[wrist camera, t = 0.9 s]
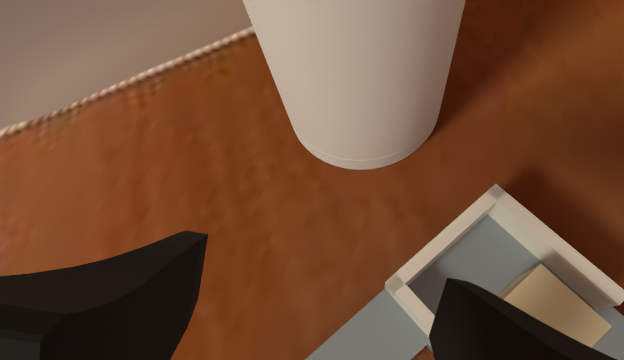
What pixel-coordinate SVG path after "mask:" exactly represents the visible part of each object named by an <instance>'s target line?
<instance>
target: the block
mask: <svg viewBox="0 0 624 360" xmlns="http://www.w3.org/2000/svg"><path fill="white" fill-rule="evenodd" d="M498 297H500V298H502V299H503V300H505V301H507V302H508V303H510V304H512V305H514V306H515V307H517V308H519V309H520V310H522V311H524V312H526V313H527V314H529V315H531V316H532V317H534V318H536V319H538V320H540V321H541V322H543V323H545V324H547V325H548V326H550V327H552V328H554V329H556V330H558V331H560V332H561V333H563V334H565V335H567V336H569V337H571V338H573V339H575V340H577V341H579V342H581V343H583V344H585V345H587V346H589V347H592V346H593V345H594V344H595V343H596V342H597V341H598V340H599V339H600V338H601V337H602V336H603V335H604V334H605V333H606V332H607V331H608V330H609V329H610V328H611V327H612V326H611V325H610V324H609V323H608V322H607V321H605V320H604V319H603V318H602V317H601V316H600V315H599V314H597V313H596V312H595V311H594V310H593V309H592V308H591V307H590V306H588V305H587V304H586V303H585V302H584V301H583V300H582V299H580V298H579V297H578V296H577V295H576V294H575V293H574V292H573V291H571V290H570V289H569V288H568V287H567V286H566V285H565V284H563V283H562V282H561V281H560V280H559V279H558V278H557V277H556V276H554V275H553V274H552V273H551V272H550V271H549V270H548V269H546V268H545V267H544V266H543V265H542V264H539V265H538V266H536V267H534V268H532V269H531V270H529V271H527V272H526V273H524V274H522V275H520V276H519V277H517V278H516V279H515V280H514V281H513V282H512V283H511V284H510V285H509V286H508V287H506V288H505V289H504V290H503V291H502V292H501V293H500V294H499V295H498Z"/></svg>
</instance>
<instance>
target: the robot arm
mask: <svg viewBox="0 0 624 360" xmlns="http://www.w3.org/2000/svg"><path fill="white" fill-rule="evenodd" d="M207 238H208V234H202V233H197V232H191V231H183V232H180V233H177V234H175V235H172V236H170V237H167V238H165V239H162V240H160V241H157V242H155V243H152V244H150V245H147V246H144V247H142V248H139V249H136V250H133V251H130V252H127V253H124V254H121V255H118V256H115V257H112V258H108V259H105V260H101V261H97V262H93V263H88V264H84V265H80V266H75V267H70V268H63V269H57V270H50V271H44V272H37V273H30V274H21V275H10V276H0V360H170V359H171V357H172V355H173V353H174V351H175V349H176V348H177V346H178V344H179V342H180V340H181V338H182V336H183V334H184V332H185V331H186V329H187V327H188V324H189V321H190V319H191V316H192V313H193V311H194V308H195V305H196V302H197V300H198V296H199V289H200V283H201V276H202V270H203V264H204V257H205V251H206V244H207ZM429 340H430V343H431V347H432V351H433V354H434V358H435V360H617V359H615V358H612V357H610V356H608V355H606V354H604V353H602V352H600V351H597V350H595V349H593V348H591V347H589V346H587V345H585V344H583V343H581V342H579V341H577V340H575V339H573V338H571V337H569V336H567V335H565V334H563V333H561V332H560V331H558V330H556V329H554V328H552V327H550V326H548V325H547V324H545V323H543V322H541V321H540V320H538V319H536V318H534V317H532V316H531V315H529V314H527V313H526V312H524V311H522V310H520V309H519V308H517V307H515V306H514V305H512V304H510V303H508V302H507V301H505V300H503V299H502V298H500V297H498V296H496V295H495V294H493V293H491V292H489V291H487V290H485V289H484V288H482V287H480V286H478V285H475V284H473V283H471V282H468V281H464V280H458V279H453V278H447V280H446V283H445V286H444V289H443V292H442V296H441V299H440V302H439V305H438V308H437V311H436V315H435V318H434V321H433V324H432V327H431V330H430V334H429Z"/></svg>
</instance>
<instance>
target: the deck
mask: <svg viewBox="0 0 624 360" xmlns="http://www.w3.org/2000/svg"><path fill="white" fill-rule="evenodd" d="M539 264H542V265H543V266H544V267H545V268H546V269H548V270H549V271H550V272H551V273H552V274H553V275H554V276H556V277H557V278H558V279H559V280H560V281H561V282H562V283H563V284H565V285H566V286H567V287H568V288H569V289H570V290H571V291H573V292H574V293H575V294H576V295H577V296H578V297H579V298H580V299H582V300H583V301H584V302H585V303H586V304H587V305H588V306H590V307H591V308H592V309H593V310H594V311H595V312H596V313H597V314H599V315H600V316H601V317H602V318H603V319H604V320H605V321H607V322H608V323H609V324H610V325H611V326H612V327H611V328H610V329H609V330H608V331H607V332H606V333H605V334H604V335H603V336H602V337H601V338H600V339H599V340H598V341H597V342H596V343H595V344H594V345H593V346H592V347H591V348H593V349H595V350H597V351H600V352H602V353H604V354H606V355H608V356H610V357H612V358H615V359H617V360H624V316H623V315H621V314H620V313H619V312H618V311H617V310H616V309H614V308H613V307H607V308H603V309H598V310H596V309H595V308H594V307H592V306H591V305H590V304H589V303H588V302H587V301H586V300H584V299H583V298H582V297H581V296H580V295H579V294H578V293H577V292H575V291H574V290H573V289H572V288H571V287H570V286H569V285H567V284H566V283H565V282H564V281H563V280H562V279H561V278H559V277H558V276H557V275H556V274H555V273H554V272H553V271H552V270H550V269H549V268H548V267H547V266H546V265H545V264H544V263H542V262H541V261H540V260H539V259H538V258H537V257H536V256H534V255H533V254H532V253H531V252H530V251H529V250H528V249H526V248H525V247H524V246H523V245H522V244H521V243H520V242H519V241H517V240H516V239H515V238H514V237H513V236H512V235H511V234H509V233H508V232H507V231H506V230H505V229H504V228H503V227H501V226H500V225H499V224H498V223H497V222H496V221H495V220H494V219H492V218H491V217H490V216H489V215H488V214H487V215H486V216H484V217H483V218H482V219H481V220H480V221H479V222H478V223H477V224H476V225H474V226H473V227H472V228H471V229H470V230H469V231H468V232H467V233H466V234H464V235H463V236H462V237H461V238H460V239H459V240H458V241H457V242H456V243H455V244H453V245H452V246H451V247H450V248H449V249H448V250H447V251H446V252H445V253H443V254H442V255H441V256H440V257H439V258H438V259H437V260H436V261H435V262H433V263H432V264H431V265H430V266H429V267H428V268H427V269H426V270H425V271H423V272H422V273H421V274H420V275H419V276H418V277H417V278H416V279H415V280H413V281H412V282H411V283H410V284H409V285H408V287H409V288H410V289H411V291H412V292H413V293H414V294H415V295H416V296H417V297H418V298H419V299H420V300H421V301H422V303H423V304H424V305H425V306H426V307H427V308H428V309H429V310H430V311H431V312H432V313H433V314H434V316H435V315H436V311H437V308H438V305H439V302H440V299H441V296H442V292H443V289H444V286H445V283H446V280H447V278H453V279H458V280H464V281H468V282H471V283H473V284H475V285H478V286H480V287H482V288H484V289H485V290H487V291H489V292H491V293H493V294H495V295H496V296H498V295H499V294H500V293H501V292H502V291H503V290H504V289H505V288H506V287H508V286H509V285H510V284H511V283H512V282H513V281H514V280H515V279H516V278H517V277H519V276H520V275H522V274H524V273H526V272H527V271H529V270H531V269H532V268H534V267H536V266H538V265H539ZM425 346H427V347H428V349H429V350H430V351H431V352H432V353H433V351H432V347H431V343H430V340H429V337H428V336H427V335H426V334H425V333H424V332H423V331H422V330H421V328H420V327H419V326H418V325H417V324H416V323H415V322H414V321H413V319H412V318H411V317H410V316H409V315H408V314H407V313H406V312H405V310H404V309H403V308H402V307H401V306H400V305H399V304H398V303H397V301H396V300H395V299H394V298H393V297H392V296H391V295H390V294H389V292H388V291H387V290H386V289H384V290H383V291H382V292H380V293H379V294H378V295H377V296H376V297H375V298H374V299H373V300H371V301H370V302H369V303H368V304H367V305H366V306H365V307H364V308H363V309H361V310H360V311H359V312H358V313H357V314H356V315H355V316H354V317H352V318H351V319H350V320H349V321H348V322H347V323H346V324H345V325H343V326H342V327H341V328H340V329H339V330H338V331H337V332H336V333H335V334H333V335H332V336H331V337H330V338H329V339H328V340H327V341H326V342H324V343H323V344H322V345H321V346H320V347H319V348H318V349H317V350H316V351H314V352H313V353H312V354H311V355H310V356H309V357H308V358H307V359H305V360H411V359H412V358H413V357H414V356H415V355H416V354H418V353H419V352H420V351H421V350H422V349H423V348H424V347H425Z"/></svg>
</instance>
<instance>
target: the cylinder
mask: <svg viewBox="0 0 624 360" xmlns="http://www.w3.org/2000/svg"><path fill="white" fill-rule="evenodd" d="M465 1H466V0H243V2H244V5H245V7H246V10H247V12H248V15H249V18H250V20H251V23H252V25H253V28H254V30H255V33H256V35H257V38H258V40H259V43H260V45H261V48H262V50H263V53H264V55H265V58H266V61H267V63H268V66H269V68H270V71H271V73H272V76H273V78H274V81H275V83H276V86H277V88H278V91H279V93H280V96H281V98H282V101H283V104H284V106H285V109H286V111H287V114H288V116H289V119H290V121H291V124H292V126H293V129H294V131H295V133H296V135H297V137H298V139H299V140H300V142H301V143H302V144H303V145H304V147H305V148H306V149H307V150H308V151H309V152H311V153H312V154H313V155H315V156H316V157H317V158H319V159H321V160H323V161H325V162H327V163H329V164H332V165H335V166H338V167H342V168H347V169H357V170H365V169H375V168H380V167H384V166H388V165H391V164H393V163H396V162H398V161H400V160H402V159H404V158H406V157H407V156H409V155H410V154H412V153H413V152H415V151H416V150H417V149H418V148H419V147H420V146H421V145H422V144H423V143H424V142H425V141H426V140H427V138H428V137H429V136H430V134H431V133H432V131H433V129H434V127H435V125H436V122H437V119H438V116H439V112H440V107H441V103H442V99H443V95H444V90H445V86H446V82H447V77H448V73H449V69H450V65H451V60H452V56H453V52H454V48H455V43H456V39H457V35H458V30H459V26H460V22H461V18H462V13H463V9H464V5H465Z"/></svg>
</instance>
